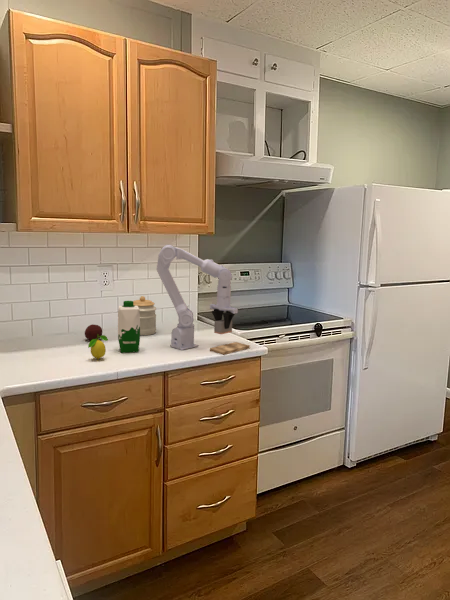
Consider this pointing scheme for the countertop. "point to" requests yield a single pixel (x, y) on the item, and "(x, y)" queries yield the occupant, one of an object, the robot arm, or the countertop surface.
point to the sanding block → (221, 327)
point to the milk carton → (128, 327)
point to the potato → (93, 332)
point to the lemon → (98, 347)
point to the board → (229, 348)
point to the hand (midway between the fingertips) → (222, 327)
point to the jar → (146, 316)
